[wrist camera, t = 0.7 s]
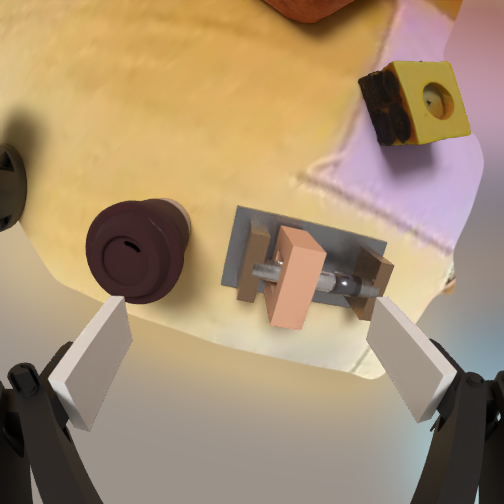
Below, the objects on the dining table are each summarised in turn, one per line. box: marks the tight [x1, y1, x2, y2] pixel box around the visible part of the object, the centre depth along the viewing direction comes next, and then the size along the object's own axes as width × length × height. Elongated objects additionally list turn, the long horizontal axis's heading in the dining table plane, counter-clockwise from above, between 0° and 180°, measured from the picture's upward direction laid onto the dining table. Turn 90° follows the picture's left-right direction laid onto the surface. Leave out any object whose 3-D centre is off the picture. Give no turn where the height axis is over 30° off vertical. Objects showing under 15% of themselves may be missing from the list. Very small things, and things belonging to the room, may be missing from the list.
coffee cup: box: [86, 198, 191, 304], centre depth 30 cm, size 10×10×15 cm
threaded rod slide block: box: [221, 205, 394, 321], centre depth 36 cm, size 22×11×8 cm, turn 77°
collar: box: [264, 225, 327, 330], centre depth 33 cm, size 4×9×9 cm, turn 167°
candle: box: [358, 61, 471, 146], centre depth 28 cm, size 10×10×10 cm
